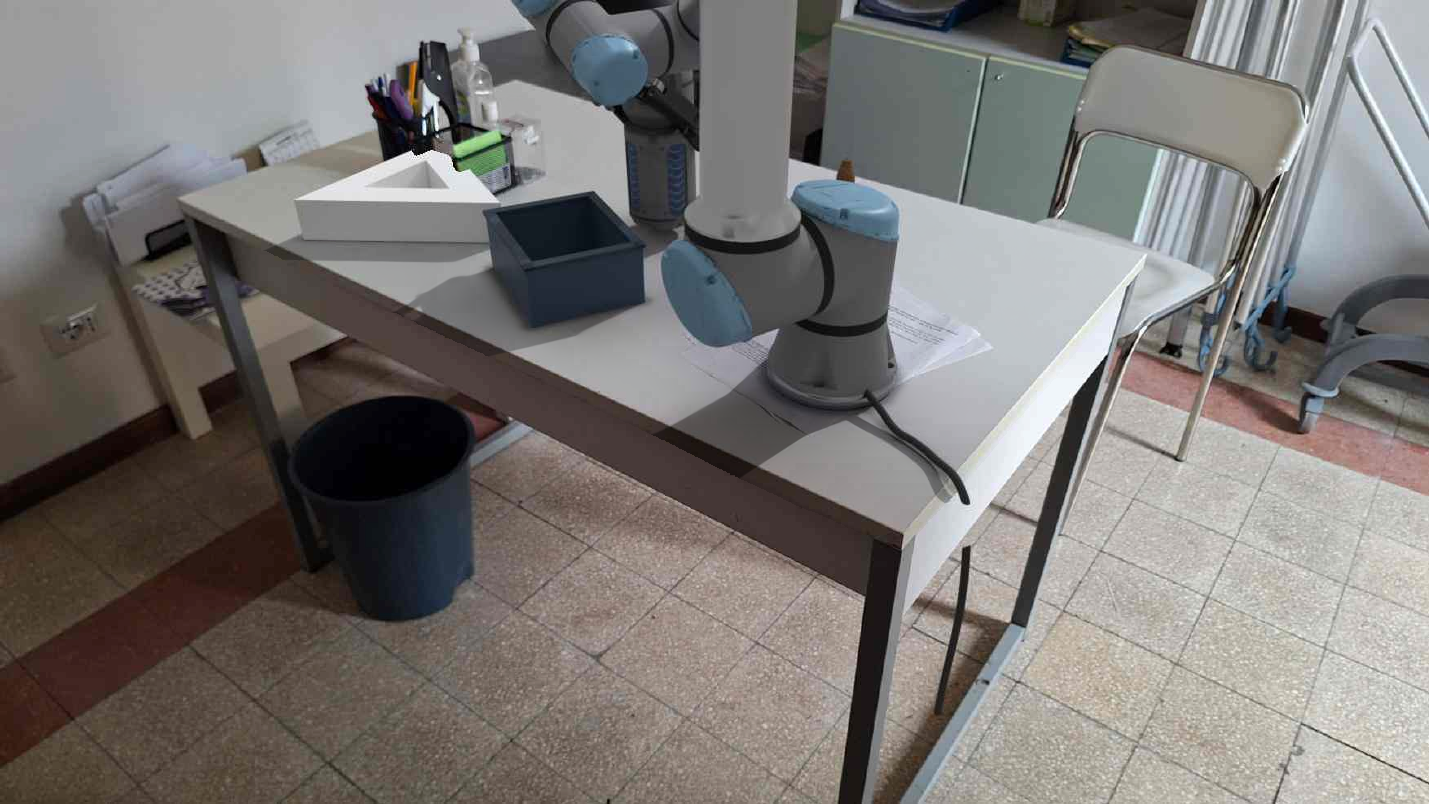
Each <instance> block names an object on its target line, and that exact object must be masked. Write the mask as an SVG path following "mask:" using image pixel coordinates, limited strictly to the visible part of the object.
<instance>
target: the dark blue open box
mask: <svg viewBox="0 0 1429 804" xmlns="http://www.w3.org/2000/svg"><path fill="white" fill-rule="evenodd" d="M483 215H484V216H485V218H486V221H487V228H488V236H489V243H488V244H489V250H490V258H491V265H492V269H493V270H494V271H495V273H496V274H497V276H498V278H499V279H500V280H501V282H502V283H503V285H504V286H505V288H506V289H507V291H508V293H509V294H510V296H511V297H512V298H513V300H514V302H515V303H516V304H517V306H518V308H519V309H520V311H521V312H522V314H523V315H524V316H525V319H526V320H527V321H528V323H529V324H530V326H531V327H532V328H536V327H542V326H545V325H550V324H554V323H559V322H563V321H569V320H572V319H575V318H580V317H584V316H585V317H586V316H589V315H593V314H594V315H595V314H599V313H603V312H608V311H612V310H616V309H621V308H625V307H629V306H634V305H638V304H639V305H640V304H643V303H645V302H646V293H645V265H644V264H645V263H644V250H645V249H647V243H646V242H644V240H643V239H641V237H640V236H639V235H638V234H637V233H636V232H635V231H634V230H633V229H632V228H631V227H630V226H629V225H628V224H627V223H626V222H625V220H623V219H622V218H621V217H620V216H619V215H618V214H617V213H616V212H615V211H614V210H613V209H612V208H611V206H609V205H608V204H607V203H606V202H605V201H604V200H603V198H601V197H600V195H599V194H598V193H597V192H596V191H595V190H590V191H584V192H579V193H574V194H568V195H562V196H556V197H551V198H550V197H549V198H544V199H540V200H539V199H538V200H533V201H527V202H522V203H516V204H512V205H506V206H501V207H499V208H493V209H488V210H483Z"/></svg>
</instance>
